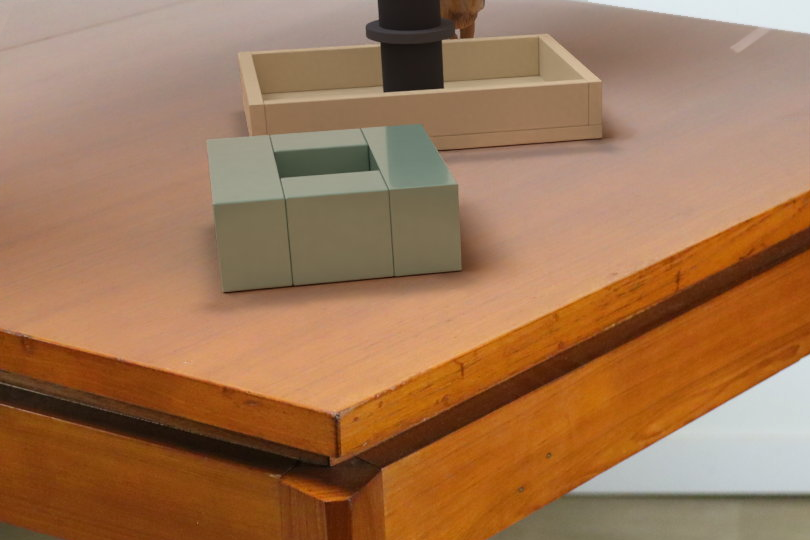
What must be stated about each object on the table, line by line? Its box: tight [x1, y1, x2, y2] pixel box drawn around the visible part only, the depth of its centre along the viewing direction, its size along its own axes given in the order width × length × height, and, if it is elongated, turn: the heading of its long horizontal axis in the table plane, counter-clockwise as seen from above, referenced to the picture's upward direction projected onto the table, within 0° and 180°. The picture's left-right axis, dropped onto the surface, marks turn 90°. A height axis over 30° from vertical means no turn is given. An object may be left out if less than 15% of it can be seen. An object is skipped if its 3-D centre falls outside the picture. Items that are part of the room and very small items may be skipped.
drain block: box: [205, 124, 463, 293], centre depth 70 cm, size 10×10×4 cm
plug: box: [365, 0, 456, 93], centre depth 88 cm, size 5×5×11 cm
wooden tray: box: [237, 33, 603, 151], centre depth 90 cm, size 20×14×3 cm
